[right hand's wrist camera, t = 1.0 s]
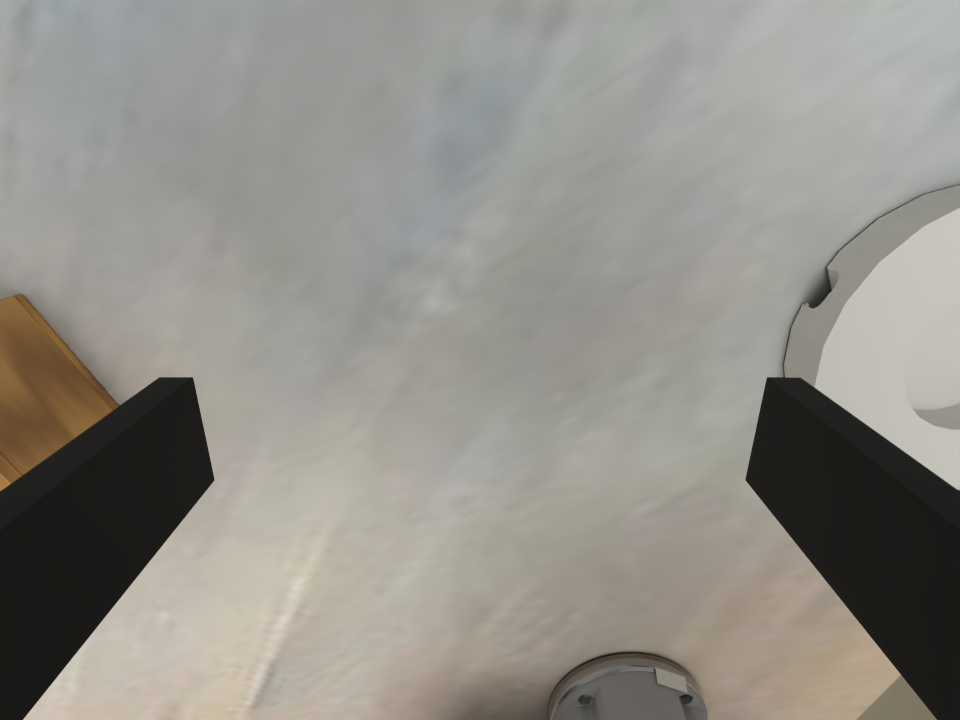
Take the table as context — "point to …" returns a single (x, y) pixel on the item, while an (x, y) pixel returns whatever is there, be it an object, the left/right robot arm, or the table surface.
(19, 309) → the chest
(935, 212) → the ashtray
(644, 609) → the table surface
